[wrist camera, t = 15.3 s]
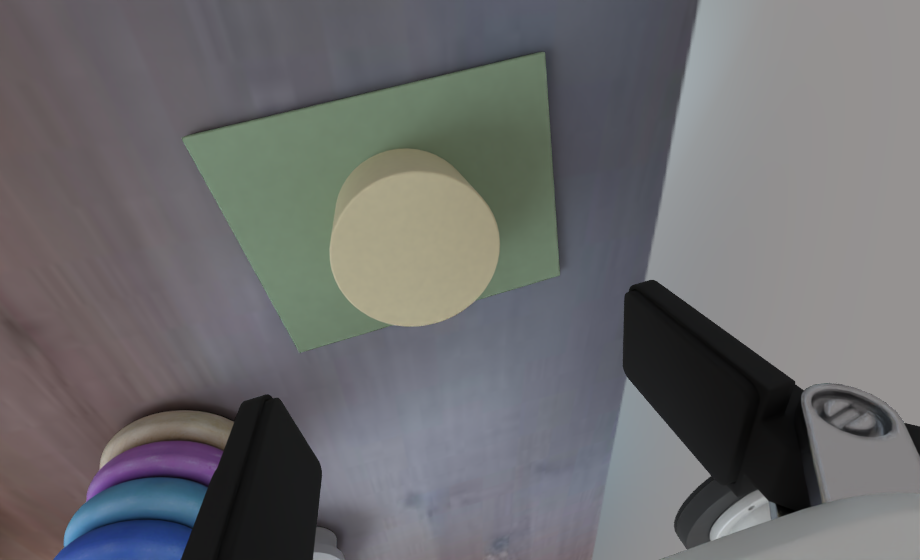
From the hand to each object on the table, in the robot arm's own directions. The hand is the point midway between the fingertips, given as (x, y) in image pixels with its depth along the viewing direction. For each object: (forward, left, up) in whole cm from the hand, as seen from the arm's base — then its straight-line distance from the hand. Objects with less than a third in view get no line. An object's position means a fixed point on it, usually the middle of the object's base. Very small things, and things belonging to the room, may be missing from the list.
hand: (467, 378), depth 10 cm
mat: (0, 0, -12) cm, 12 cm away
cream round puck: (0, 0, -11) cm, 11 cm away
